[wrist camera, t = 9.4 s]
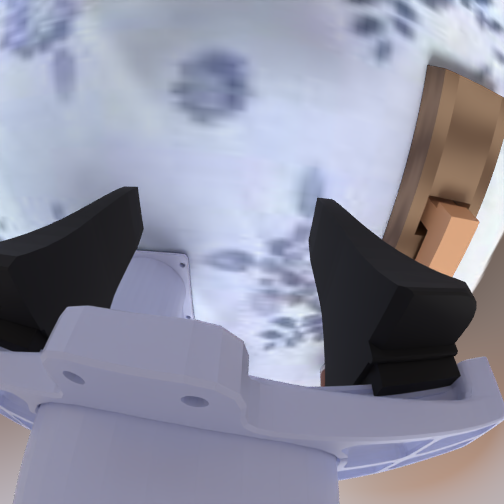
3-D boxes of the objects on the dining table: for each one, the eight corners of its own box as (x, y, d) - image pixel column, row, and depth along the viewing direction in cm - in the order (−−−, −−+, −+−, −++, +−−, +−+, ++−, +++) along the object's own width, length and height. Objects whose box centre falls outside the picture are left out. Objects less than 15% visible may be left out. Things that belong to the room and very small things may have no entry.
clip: (415, 271, 26) (433, 308, 22) (389, 269, 26) (406, 308, 22) (449, 189, 21) (479, 222, 17) (421, 183, 21) (451, 216, 17)
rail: (396, 332, 32) (401, 348, 30) (343, 332, 32) (347, 350, 30) (493, 94, 15) (512, 102, 13) (427, 64, 15) (445, 68, 13)
